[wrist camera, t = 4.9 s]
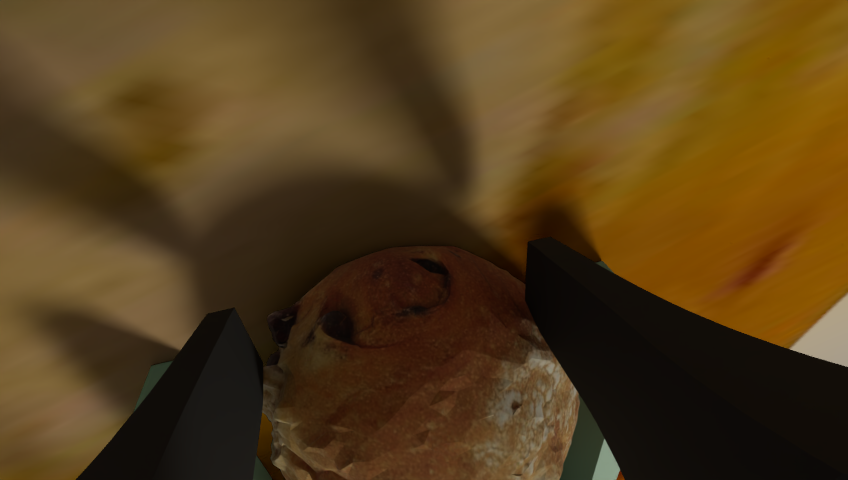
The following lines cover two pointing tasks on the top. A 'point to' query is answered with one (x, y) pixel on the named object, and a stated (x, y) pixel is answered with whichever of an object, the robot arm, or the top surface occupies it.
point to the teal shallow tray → (582, 469)
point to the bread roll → (416, 375)
